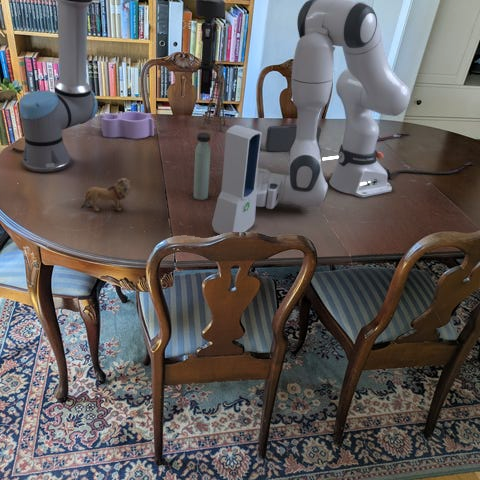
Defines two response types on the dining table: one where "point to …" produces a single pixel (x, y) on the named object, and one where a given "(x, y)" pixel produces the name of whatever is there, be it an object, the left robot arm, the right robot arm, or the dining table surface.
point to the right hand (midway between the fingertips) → (230, 181)
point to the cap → (203, 137)
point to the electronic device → (238, 181)
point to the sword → (390, 137)
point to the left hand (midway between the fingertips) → (206, 90)
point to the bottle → (201, 170)
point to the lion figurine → (108, 193)
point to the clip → (127, 125)
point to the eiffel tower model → (217, 80)
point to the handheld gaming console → (283, 137)
